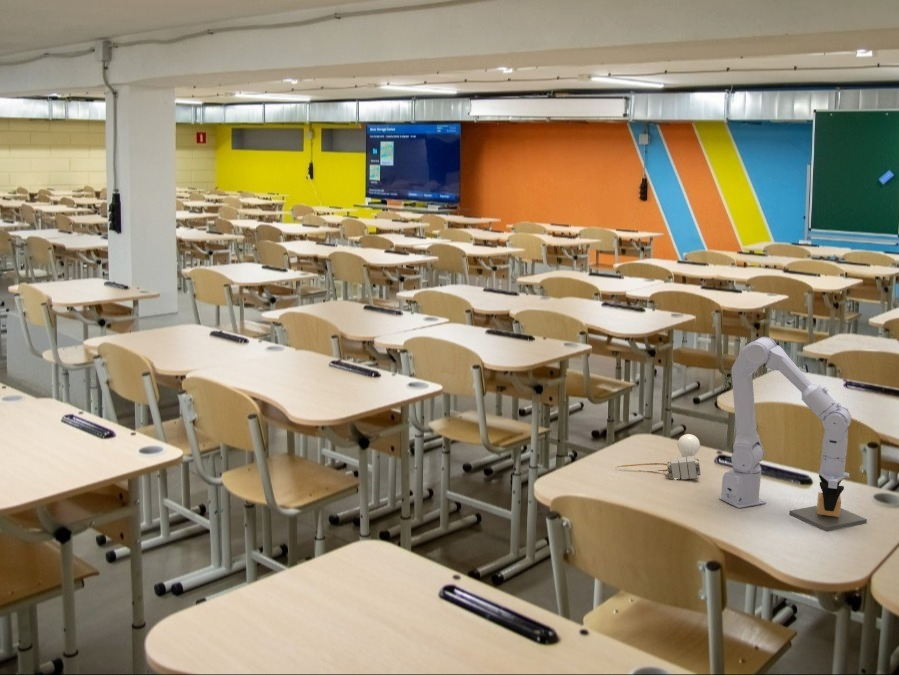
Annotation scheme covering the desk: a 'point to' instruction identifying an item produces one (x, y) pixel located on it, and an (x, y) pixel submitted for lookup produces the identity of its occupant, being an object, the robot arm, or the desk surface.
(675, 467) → the electrical component
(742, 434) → the robot arm
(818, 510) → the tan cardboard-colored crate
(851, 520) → the plate
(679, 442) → the lightbulb
